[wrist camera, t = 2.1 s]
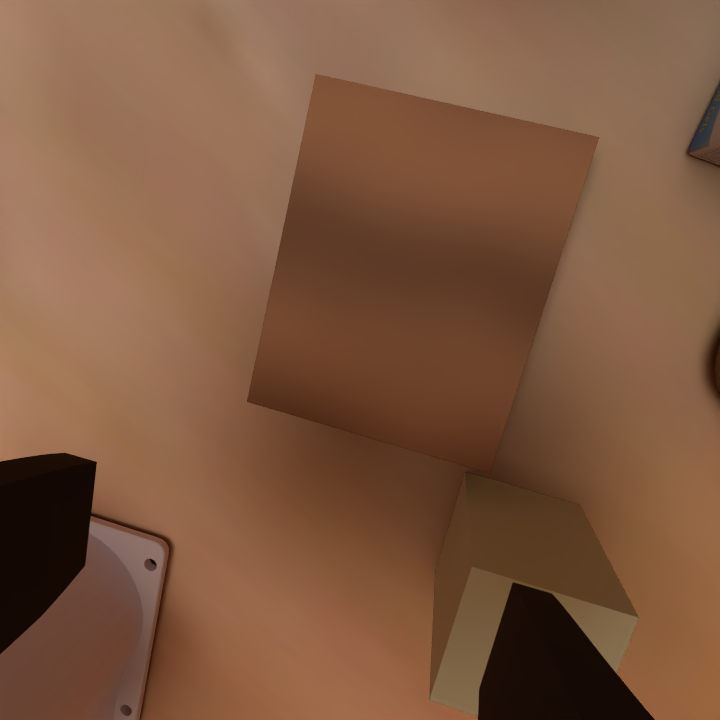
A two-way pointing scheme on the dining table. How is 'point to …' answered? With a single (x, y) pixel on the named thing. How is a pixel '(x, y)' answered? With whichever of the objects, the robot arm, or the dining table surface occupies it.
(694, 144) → the medicine box
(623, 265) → the dining table surface
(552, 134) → the walnut block
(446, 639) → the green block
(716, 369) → the fennel bulb
